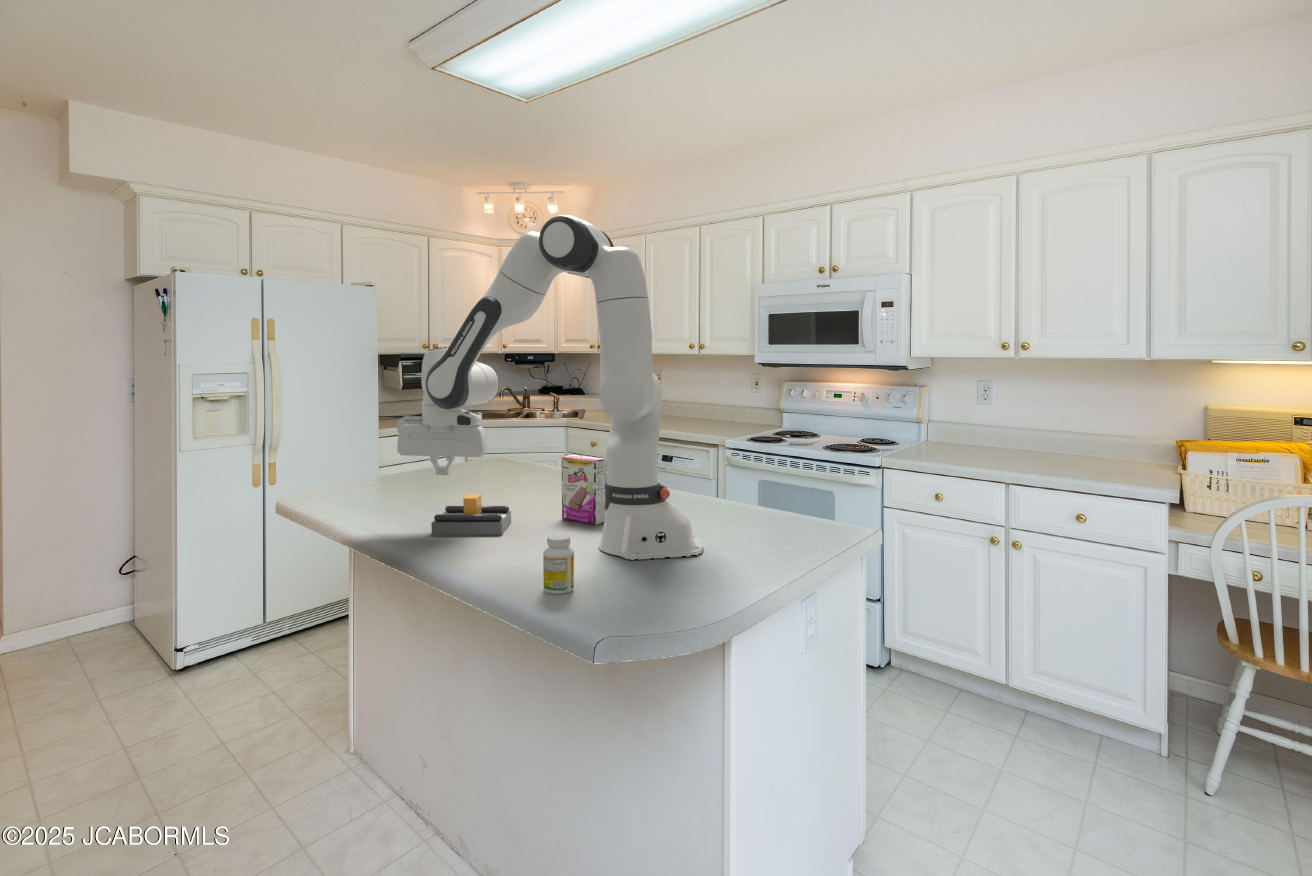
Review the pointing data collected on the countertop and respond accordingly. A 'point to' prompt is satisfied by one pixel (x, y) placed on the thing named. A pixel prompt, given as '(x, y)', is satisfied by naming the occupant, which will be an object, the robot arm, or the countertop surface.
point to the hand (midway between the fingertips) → (442, 474)
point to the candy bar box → (583, 489)
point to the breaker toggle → (472, 504)
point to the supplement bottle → (558, 565)
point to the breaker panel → (471, 521)
